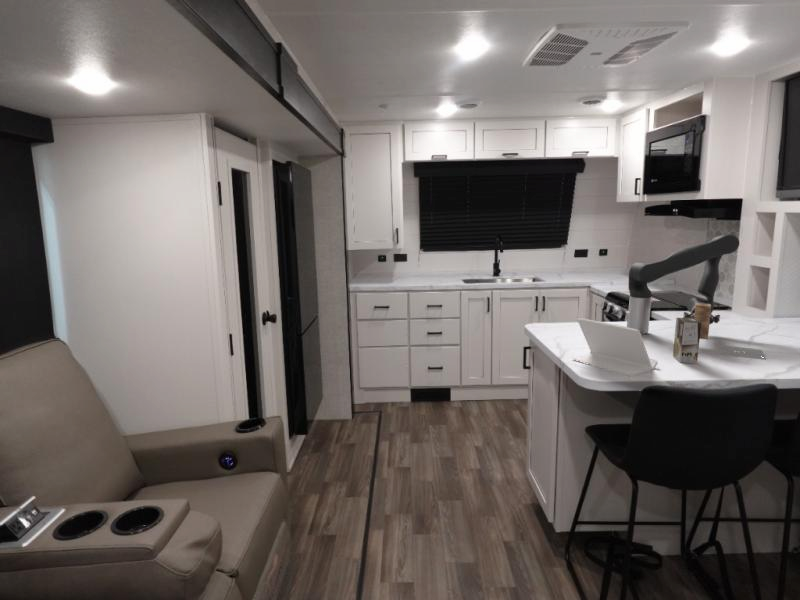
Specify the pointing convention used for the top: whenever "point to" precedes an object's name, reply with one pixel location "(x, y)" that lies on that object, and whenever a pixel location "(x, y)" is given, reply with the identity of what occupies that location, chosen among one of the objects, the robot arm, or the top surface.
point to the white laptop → (615, 348)
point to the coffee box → (686, 340)
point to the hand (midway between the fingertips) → (701, 321)
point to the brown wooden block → (703, 318)
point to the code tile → (741, 352)
